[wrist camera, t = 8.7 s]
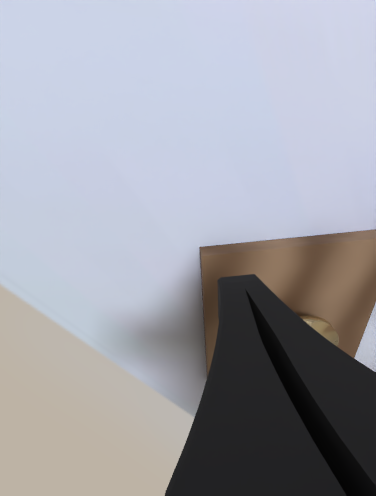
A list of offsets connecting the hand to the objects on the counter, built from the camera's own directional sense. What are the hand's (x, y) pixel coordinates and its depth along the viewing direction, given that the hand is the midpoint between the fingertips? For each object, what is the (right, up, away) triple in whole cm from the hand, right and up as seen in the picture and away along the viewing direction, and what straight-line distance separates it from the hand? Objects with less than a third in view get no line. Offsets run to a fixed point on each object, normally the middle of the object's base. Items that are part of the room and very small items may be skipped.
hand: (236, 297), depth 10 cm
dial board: (+7, -4, +14) cm, 16 cm away
